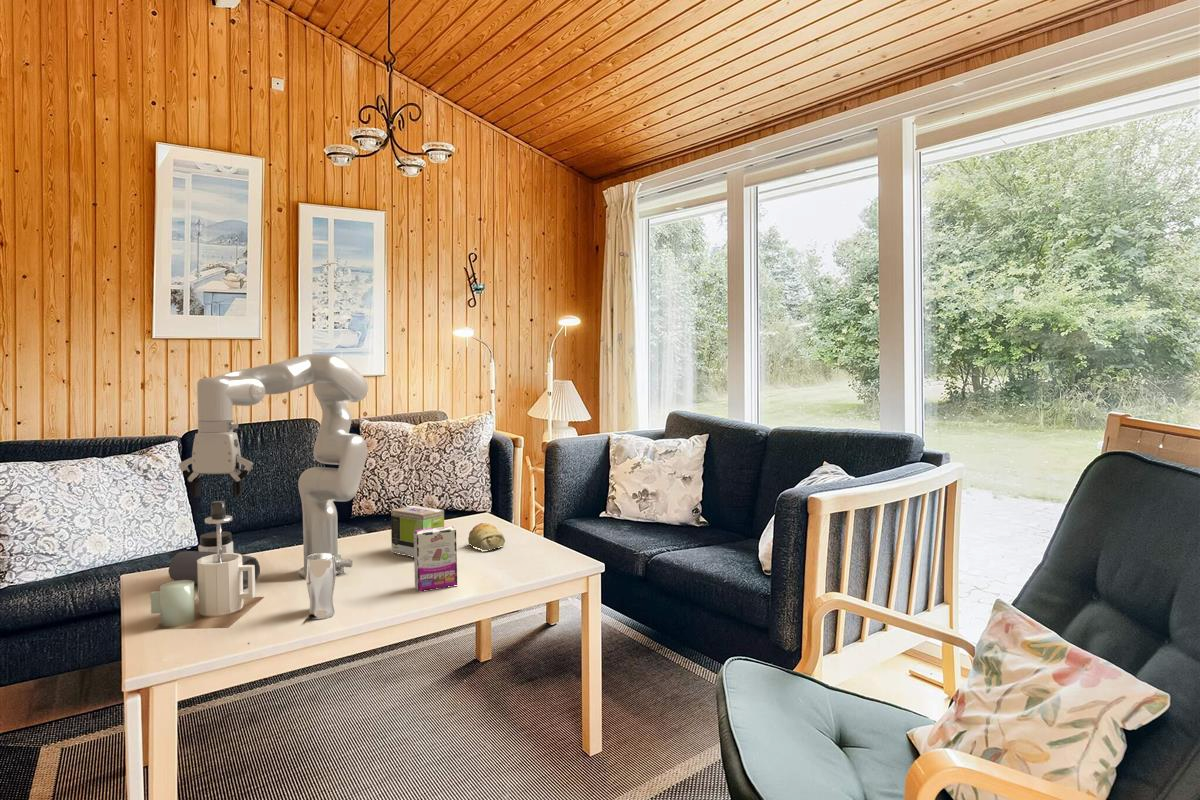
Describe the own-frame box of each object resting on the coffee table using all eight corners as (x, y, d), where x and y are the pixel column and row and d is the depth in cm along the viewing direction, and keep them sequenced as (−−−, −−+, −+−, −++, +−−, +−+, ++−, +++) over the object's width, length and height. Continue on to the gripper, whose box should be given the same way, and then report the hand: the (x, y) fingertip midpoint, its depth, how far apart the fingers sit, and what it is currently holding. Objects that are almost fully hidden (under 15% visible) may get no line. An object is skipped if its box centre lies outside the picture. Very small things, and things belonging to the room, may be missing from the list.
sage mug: (200, 615, 170) (199, 579, 169) (186, 627, 163) (184, 589, 162) (160, 616, 169) (159, 580, 169) (144, 628, 162) (143, 590, 162)
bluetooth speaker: (262, 585, 196) (261, 550, 195) (238, 596, 187) (237, 560, 186) (194, 579, 201) (193, 545, 201) (167, 590, 192) (166, 554, 192)
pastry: (474, 541, 245) (474, 518, 245) (509, 542, 244) (509, 519, 243) (462, 552, 231) (461, 528, 231) (498, 553, 230) (498, 529, 229)
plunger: (239, 563, 177) (237, 499, 176) (227, 571, 170) (225, 504, 169) (212, 564, 176) (210, 499, 175) (199, 572, 170) (197, 505, 169)
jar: (200, 581, 200) (199, 539, 199) (198, 573, 207) (197, 533, 206) (235, 575, 205) (234, 535, 204) (232, 568, 212) (231, 529, 211)
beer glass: (311, 610, 177) (310, 552, 176) (339, 609, 178) (338, 551, 177) (302, 620, 170) (301, 560, 169) (331, 619, 171) (330, 559, 170)
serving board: (264, 601, 184) (264, 596, 184) (228, 632, 163) (228, 627, 163) (197, 602, 182) (197, 598, 182) (152, 634, 161) (152, 629, 161)
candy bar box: (452, 581, 201) (452, 525, 200) (457, 586, 196) (457, 529, 195) (413, 587, 196) (412, 529, 195) (417, 592, 191) (417, 533, 190)
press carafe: (262, 602, 179) (260, 552, 179) (246, 616, 170) (244, 563, 169) (210, 603, 178) (208, 553, 178) (191, 617, 169) (189, 564, 168)
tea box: (445, 553, 229) (445, 509, 228) (422, 561, 221) (422, 515, 220) (413, 546, 237) (413, 503, 236) (390, 553, 229) (389, 509, 228)
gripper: (258, 426, 175) (259, 493, 176) (186, 426, 174) (188, 494, 175) (245, 429, 168) (246, 499, 169) (170, 429, 167) (172, 499, 168)
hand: (216, 496), depth 172 cm, fingers open, 9 cm apart
